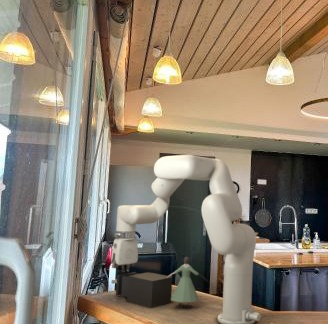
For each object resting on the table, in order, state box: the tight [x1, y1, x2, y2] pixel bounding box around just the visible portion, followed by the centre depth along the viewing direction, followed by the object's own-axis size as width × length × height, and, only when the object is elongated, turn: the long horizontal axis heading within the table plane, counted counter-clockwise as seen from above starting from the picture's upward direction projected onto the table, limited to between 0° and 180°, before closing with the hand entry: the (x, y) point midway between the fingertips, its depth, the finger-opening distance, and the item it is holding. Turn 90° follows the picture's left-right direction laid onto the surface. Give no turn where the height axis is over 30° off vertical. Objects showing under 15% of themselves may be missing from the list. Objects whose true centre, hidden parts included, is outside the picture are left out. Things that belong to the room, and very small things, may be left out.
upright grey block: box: [126, 271, 173, 309], centre depth 145 cm, size 13×10×9 cm
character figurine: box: [167, 256, 210, 309], centre depth 141 cm, size 16×8×18 cm, turn 91°
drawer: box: [111, 271, 138, 298], centre depth 151 cm, size 17×9×8 cm, turn 57°
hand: (122, 281), depth 154 cm, fingers closed
